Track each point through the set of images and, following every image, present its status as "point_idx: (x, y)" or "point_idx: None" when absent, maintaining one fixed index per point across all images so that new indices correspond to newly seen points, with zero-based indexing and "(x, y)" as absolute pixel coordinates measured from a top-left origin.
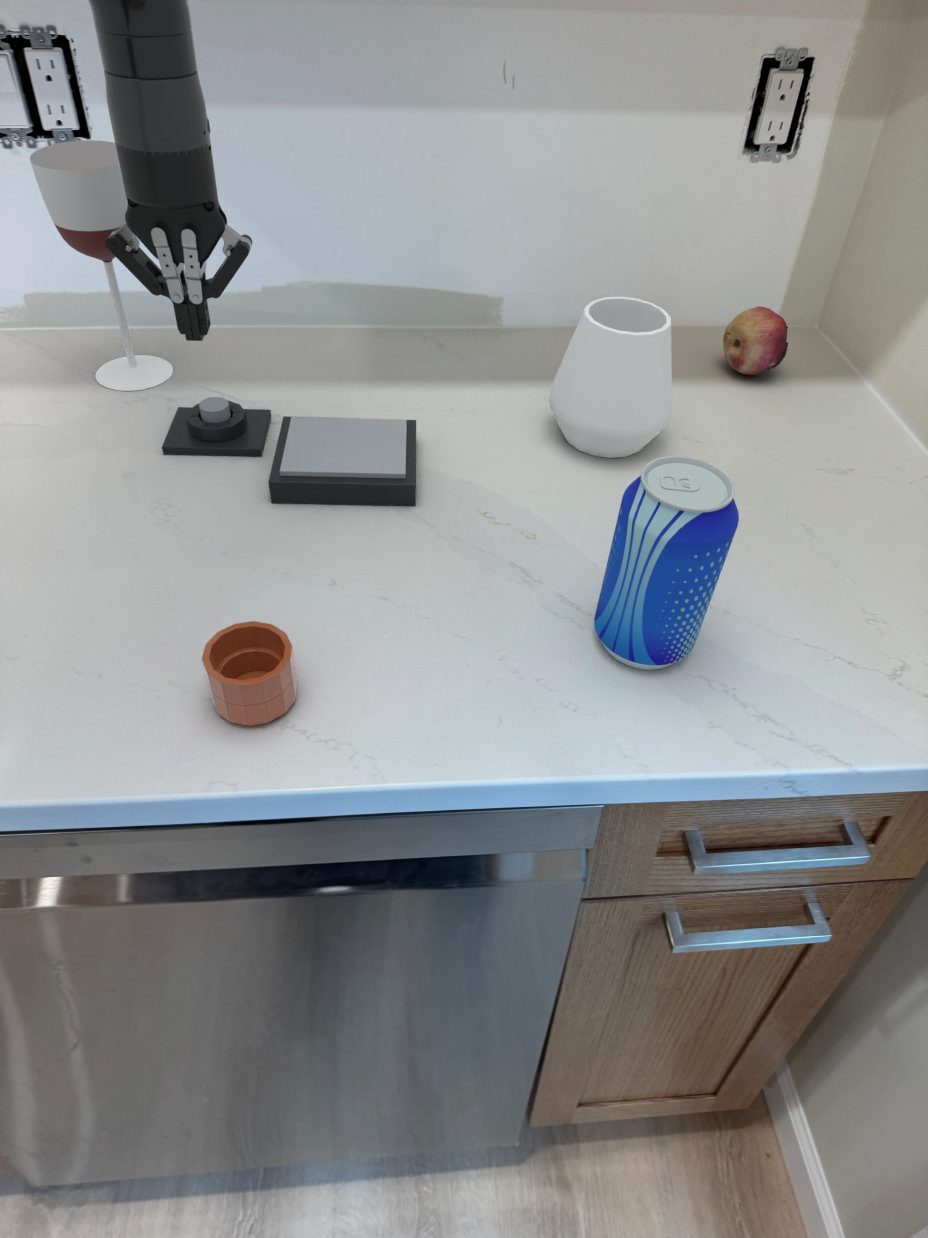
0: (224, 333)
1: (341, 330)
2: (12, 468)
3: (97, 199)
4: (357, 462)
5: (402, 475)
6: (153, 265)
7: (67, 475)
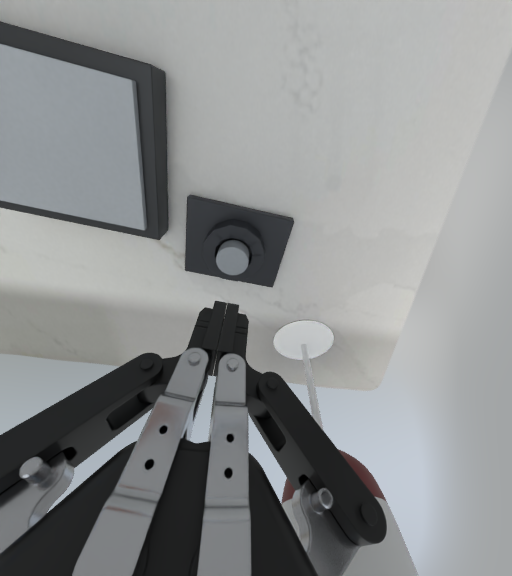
0: None
1: None
2: (443, 219)
3: None
4: (14, 83)
5: None
6: (269, 438)
7: (395, 195)
